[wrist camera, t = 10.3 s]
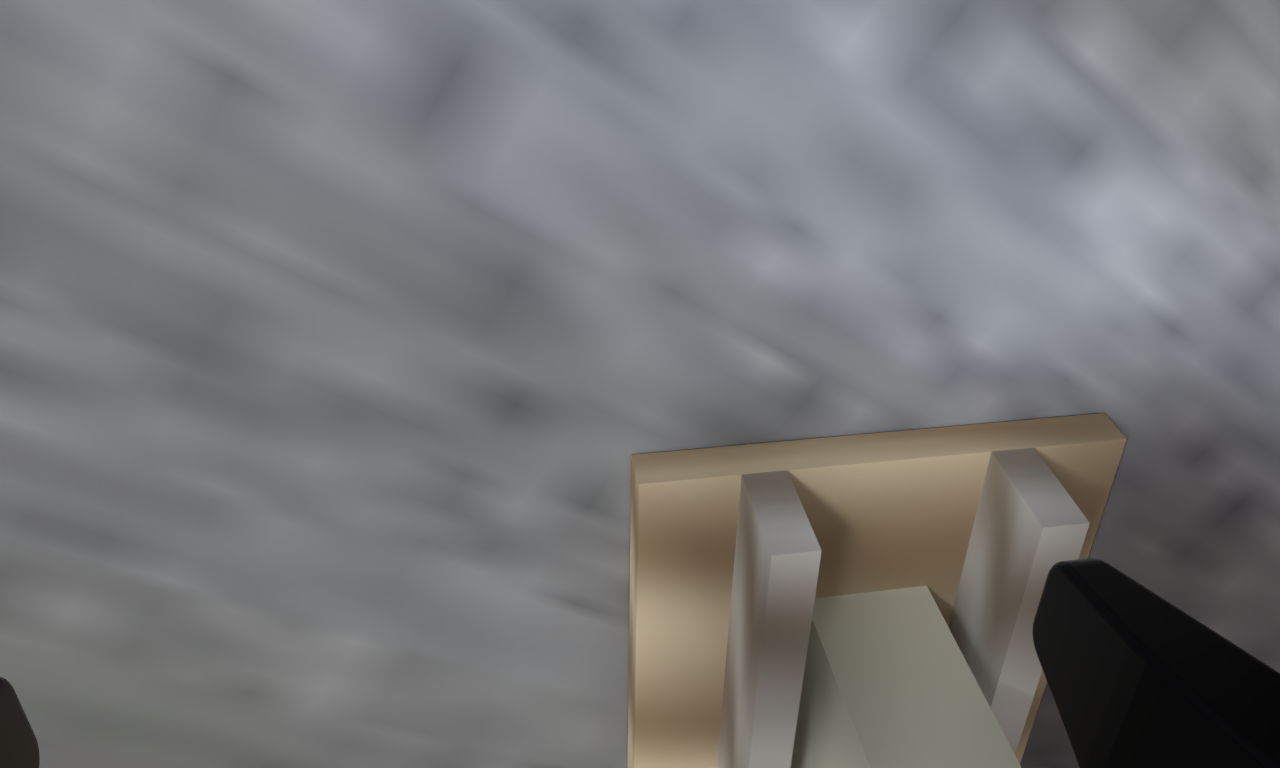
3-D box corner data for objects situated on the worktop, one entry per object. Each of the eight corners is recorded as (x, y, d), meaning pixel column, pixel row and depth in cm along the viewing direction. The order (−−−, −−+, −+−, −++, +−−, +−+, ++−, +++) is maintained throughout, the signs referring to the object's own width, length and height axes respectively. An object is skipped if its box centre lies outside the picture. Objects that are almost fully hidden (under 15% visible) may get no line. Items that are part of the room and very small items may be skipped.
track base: (631, 454, 24) (659, 567, 21) (1104, 412, 26) (1190, 512, 23) (626, 897, 34) (645, 1015, 31) (970, 847, 35) (1017, 956, 32)
